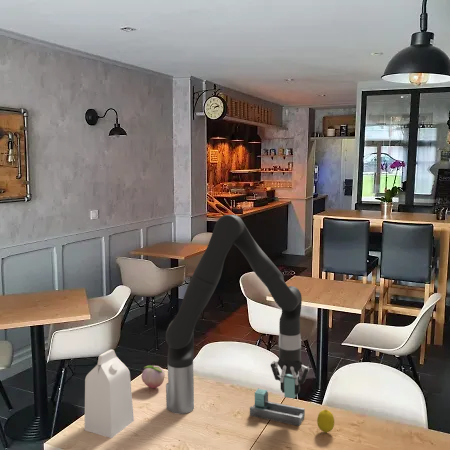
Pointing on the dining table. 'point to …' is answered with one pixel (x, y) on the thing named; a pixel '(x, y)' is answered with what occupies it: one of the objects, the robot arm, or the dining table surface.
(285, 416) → the rail
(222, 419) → the dining table surface
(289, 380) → the block
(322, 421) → the lemon
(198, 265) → the robot arm
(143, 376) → the decorative fruit
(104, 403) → the milk
